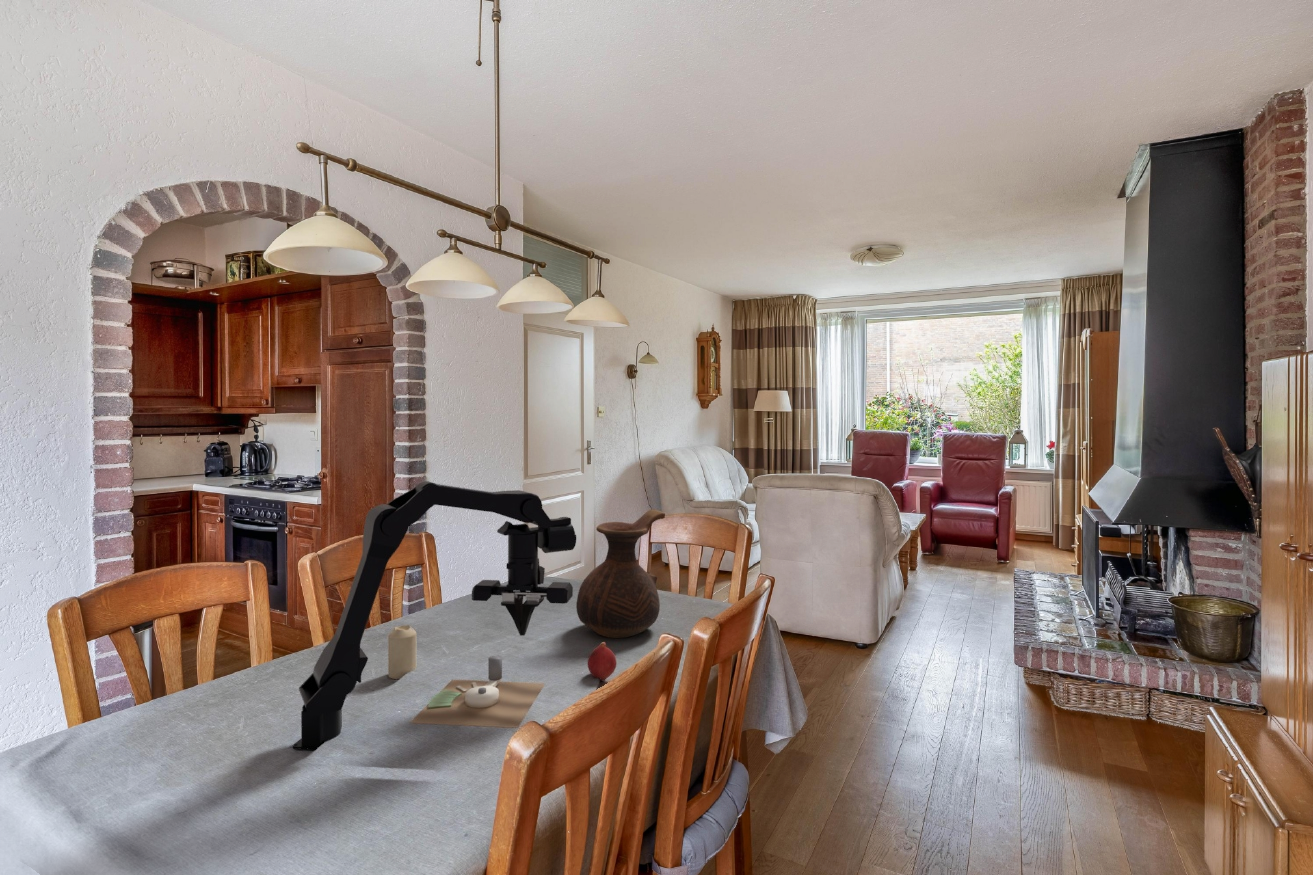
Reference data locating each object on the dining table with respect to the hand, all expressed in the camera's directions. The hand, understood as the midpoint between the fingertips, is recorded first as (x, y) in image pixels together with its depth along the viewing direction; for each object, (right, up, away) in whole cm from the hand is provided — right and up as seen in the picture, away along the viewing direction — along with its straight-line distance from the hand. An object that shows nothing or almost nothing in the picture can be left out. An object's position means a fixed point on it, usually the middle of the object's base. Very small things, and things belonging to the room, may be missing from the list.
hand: (522, 634), depth 130 cm
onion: (+15, -12, +7) cm, 20 cm away
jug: (+17, -11, +40) cm, 44 cm away
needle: (-6, -10, -4) cm, 12 cm away
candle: (-27, -11, +9) cm, 31 cm away
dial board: (-6, -12, -7) cm, 15 cm away
